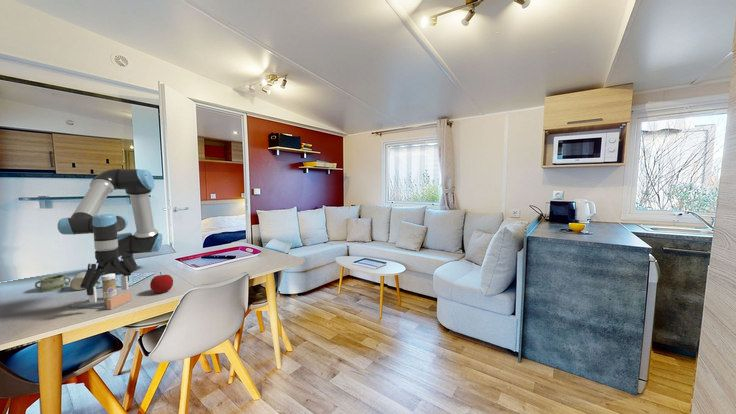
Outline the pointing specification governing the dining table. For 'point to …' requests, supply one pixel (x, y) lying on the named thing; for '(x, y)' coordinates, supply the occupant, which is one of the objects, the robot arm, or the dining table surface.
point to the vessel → (52, 283)
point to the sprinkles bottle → (108, 286)
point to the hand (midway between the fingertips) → (110, 295)
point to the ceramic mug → (80, 281)
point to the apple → (161, 283)
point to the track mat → (92, 304)
